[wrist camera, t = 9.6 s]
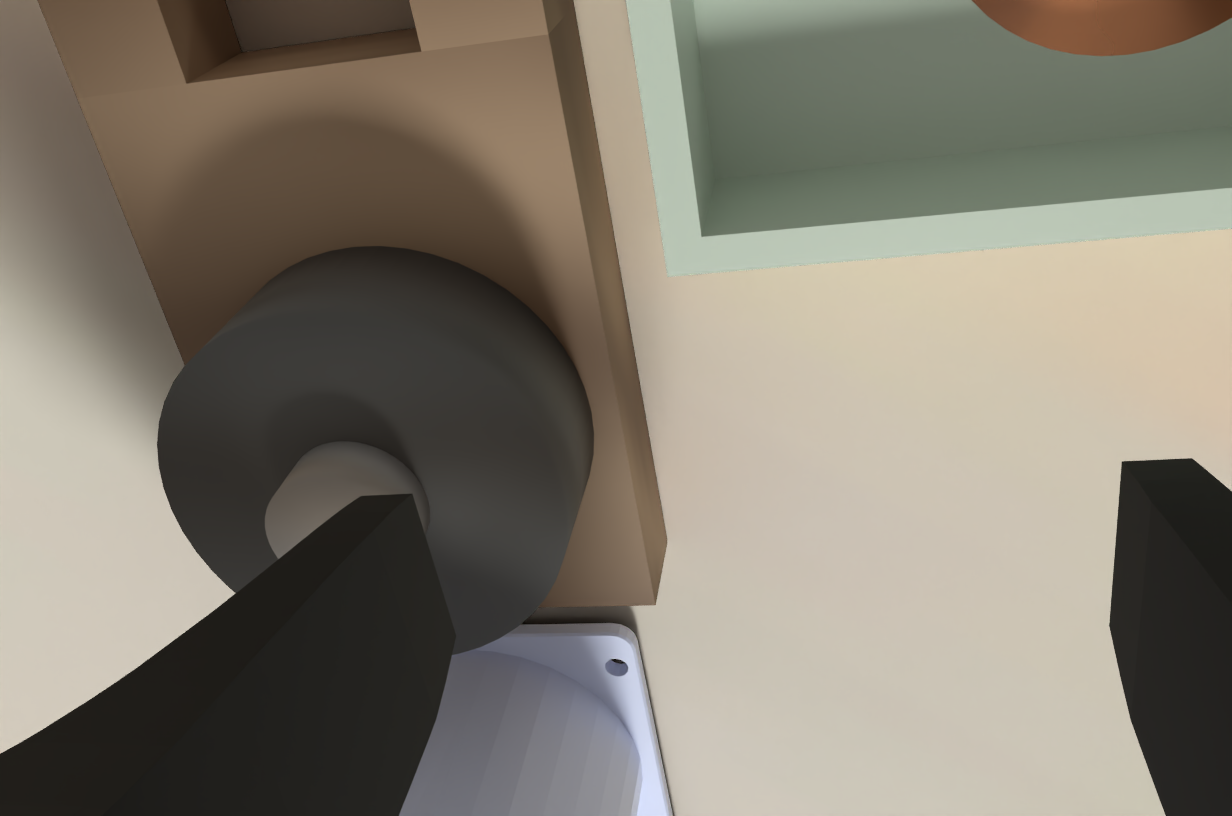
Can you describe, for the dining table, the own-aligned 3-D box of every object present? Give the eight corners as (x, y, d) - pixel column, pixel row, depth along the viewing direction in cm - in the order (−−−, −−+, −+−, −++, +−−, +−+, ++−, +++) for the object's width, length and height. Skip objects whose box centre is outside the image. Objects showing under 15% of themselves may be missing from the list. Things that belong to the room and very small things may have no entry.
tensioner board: (667, 542, 24) (629, 742, 19) (320, 553, 25) (208, 739, 21) (478, -544, 15) (319, -669, 10) (-37, -412, 16) (-375, -464, 12)
